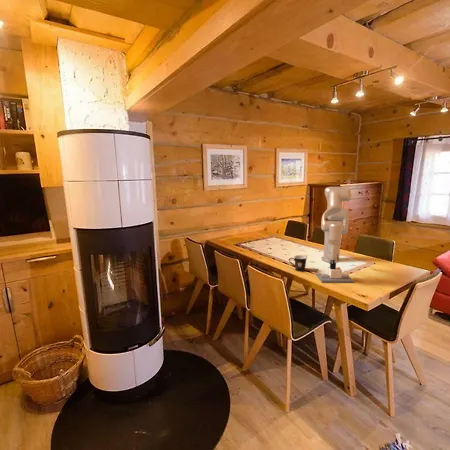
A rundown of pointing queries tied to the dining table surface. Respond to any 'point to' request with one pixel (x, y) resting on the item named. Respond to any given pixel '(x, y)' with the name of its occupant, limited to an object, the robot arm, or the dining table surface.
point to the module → (335, 272)
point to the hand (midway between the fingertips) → (332, 268)
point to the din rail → (329, 276)
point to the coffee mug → (299, 262)
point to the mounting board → (335, 280)
